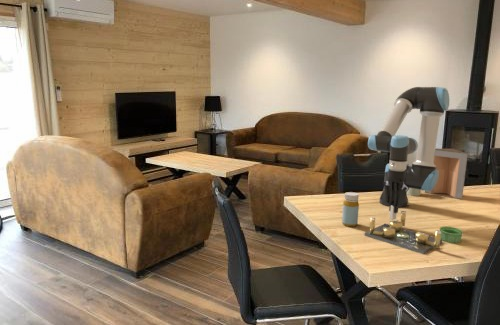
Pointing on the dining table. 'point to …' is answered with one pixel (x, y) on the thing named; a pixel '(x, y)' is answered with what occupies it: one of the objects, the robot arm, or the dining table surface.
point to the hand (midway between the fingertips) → (392, 218)
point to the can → (413, 192)
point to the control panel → (403, 239)
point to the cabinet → (449, 173)
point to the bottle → (350, 209)
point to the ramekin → (451, 234)
